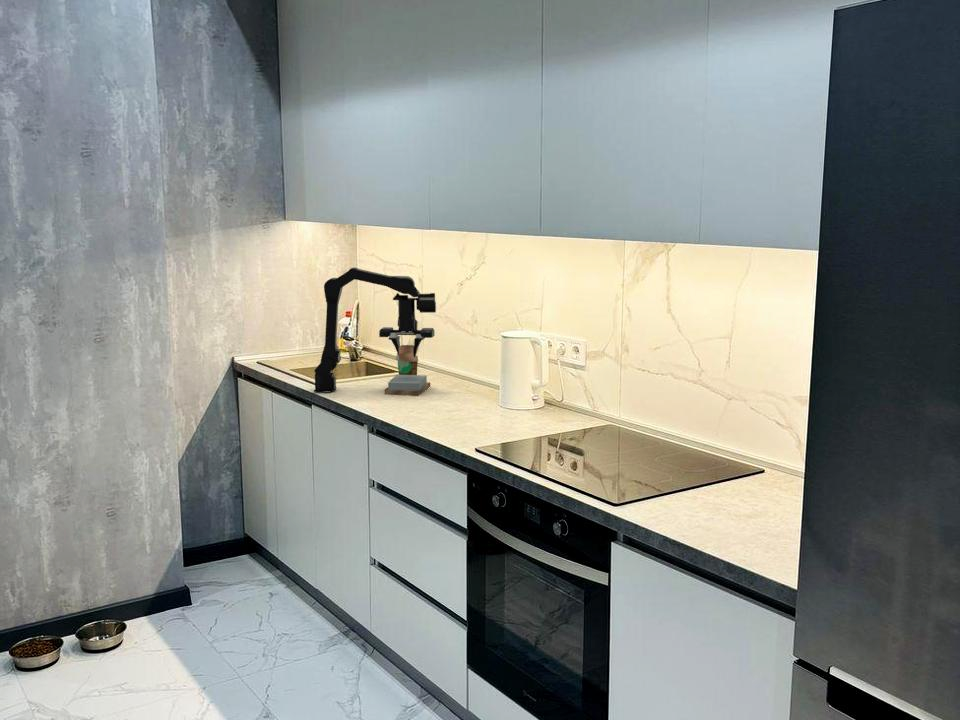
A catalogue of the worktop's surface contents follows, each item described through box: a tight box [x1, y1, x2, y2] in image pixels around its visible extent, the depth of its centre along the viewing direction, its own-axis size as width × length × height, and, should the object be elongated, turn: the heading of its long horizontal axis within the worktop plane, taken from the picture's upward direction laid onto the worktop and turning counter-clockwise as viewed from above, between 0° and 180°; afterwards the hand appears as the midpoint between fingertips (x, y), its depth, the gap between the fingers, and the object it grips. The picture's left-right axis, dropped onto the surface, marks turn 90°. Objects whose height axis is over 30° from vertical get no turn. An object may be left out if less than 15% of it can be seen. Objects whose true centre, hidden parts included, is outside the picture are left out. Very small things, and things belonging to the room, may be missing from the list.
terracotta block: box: [399, 344, 416, 362], centre depth 345 cm, size 5×5×5 cm
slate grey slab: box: [387, 374, 428, 390], centre depth 346 cm, size 11×15×2 cm
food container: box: [395, 352, 419, 375], centre depth 365 cm, size 12×6×10 cm, turn 25°
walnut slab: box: [383, 381, 431, 397], centre depth 347 cm, size 12×16×2 cm
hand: (407, 356), depth 345 cm, fingers closed on terracotta block, 5 cm apart
